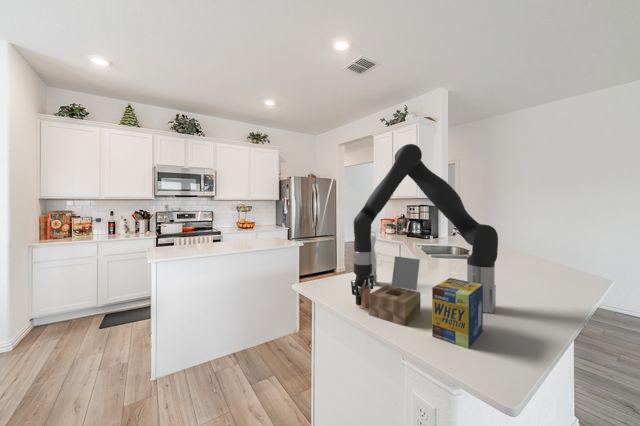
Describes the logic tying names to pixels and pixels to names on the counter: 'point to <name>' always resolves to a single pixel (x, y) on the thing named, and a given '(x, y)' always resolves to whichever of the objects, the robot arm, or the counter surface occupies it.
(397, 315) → the hole block
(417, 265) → the panel
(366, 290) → the peg
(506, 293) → the counter surface
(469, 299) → the protein box
